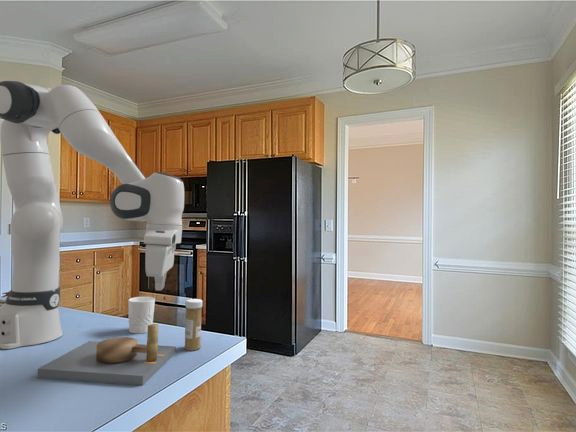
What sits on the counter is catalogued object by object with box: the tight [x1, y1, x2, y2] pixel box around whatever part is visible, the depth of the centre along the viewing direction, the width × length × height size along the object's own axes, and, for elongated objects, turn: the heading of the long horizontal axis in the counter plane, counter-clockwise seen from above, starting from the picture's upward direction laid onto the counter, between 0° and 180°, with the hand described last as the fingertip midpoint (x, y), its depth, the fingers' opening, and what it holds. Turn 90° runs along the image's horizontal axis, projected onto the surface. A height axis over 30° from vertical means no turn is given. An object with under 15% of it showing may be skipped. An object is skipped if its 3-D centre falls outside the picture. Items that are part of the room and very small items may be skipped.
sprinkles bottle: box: [184, 298, 203, 351], centre depth 99 cm, size 5×5×14 cm
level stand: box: [36, 340, 176, 386], centre depth 86 cm, size 24×18×2 cm
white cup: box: [127, 296, 156, 335], centre depth 112 cm, size 8×8×10 cm
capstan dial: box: [96, 323, 159, 363], centre depth 85 cm, size 15×9×8 cm, turn 82°
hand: (159, 289), depth 90 cm, fingers closed
